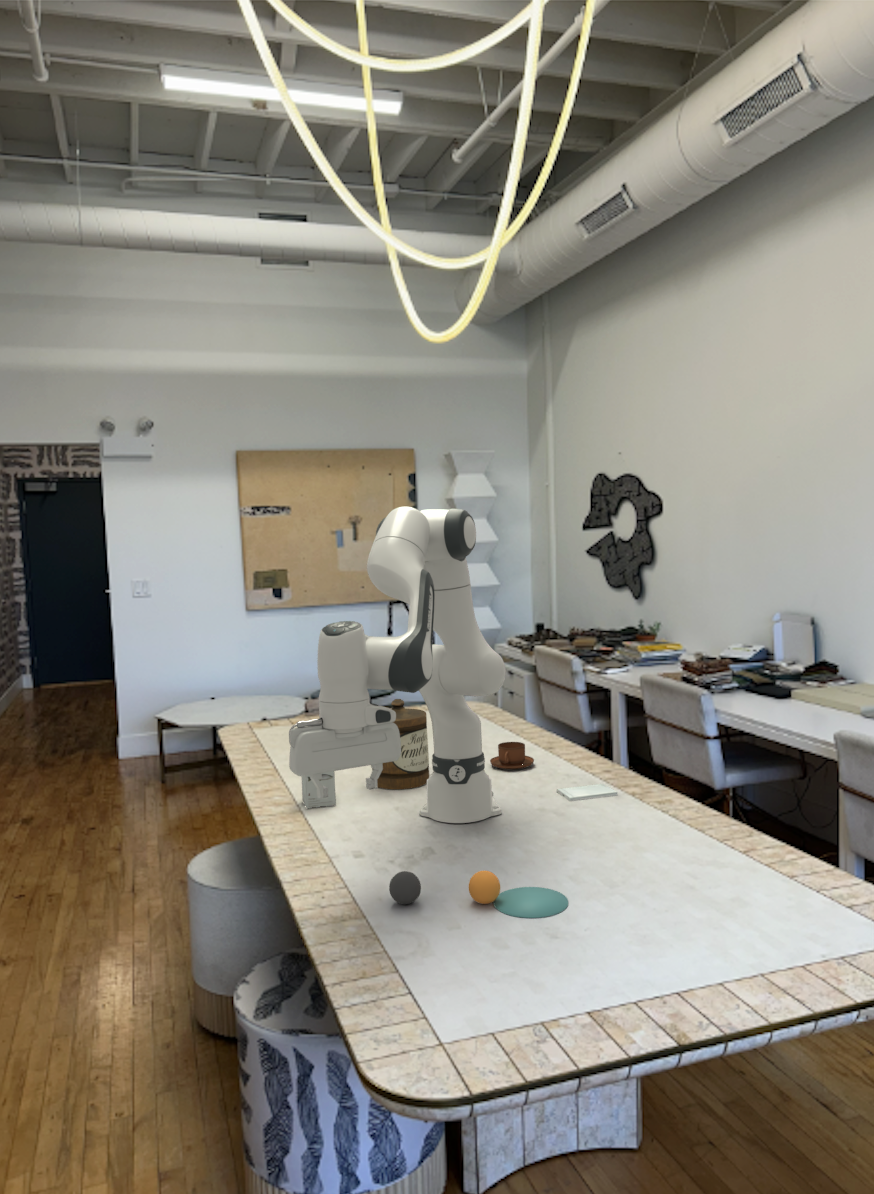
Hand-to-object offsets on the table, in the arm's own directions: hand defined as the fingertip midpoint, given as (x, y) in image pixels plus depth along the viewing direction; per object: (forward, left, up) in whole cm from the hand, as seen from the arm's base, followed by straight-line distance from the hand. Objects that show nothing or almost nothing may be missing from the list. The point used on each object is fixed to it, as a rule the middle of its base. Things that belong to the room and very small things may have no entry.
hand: (347, 792), depth 162 cm
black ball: (0, +10, -17) cm, 20 cm away
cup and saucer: (-92, +28, -20) cm, 98 cm away
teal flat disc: (0, +32, -20) cm, 37 cm away
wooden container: (-78, 0, -20) cm, 81 cm away
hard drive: (-65, +47, -21) cm, 83 cm away
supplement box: (-60, -18, -20) cm, 66 cm away
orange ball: (0, +24, -17) cm, 29 cm away
